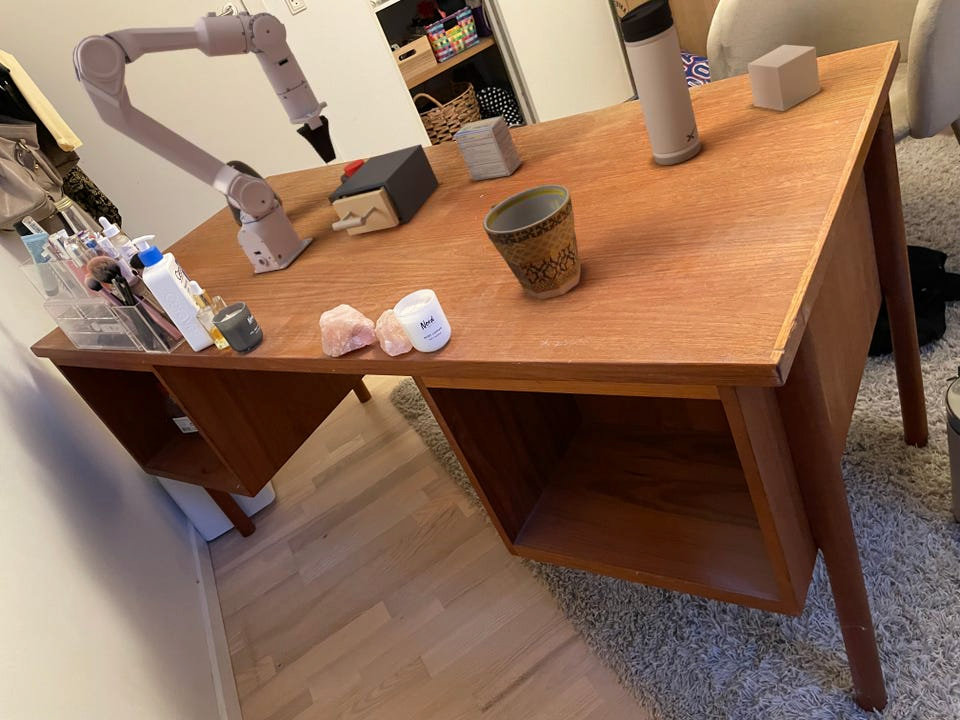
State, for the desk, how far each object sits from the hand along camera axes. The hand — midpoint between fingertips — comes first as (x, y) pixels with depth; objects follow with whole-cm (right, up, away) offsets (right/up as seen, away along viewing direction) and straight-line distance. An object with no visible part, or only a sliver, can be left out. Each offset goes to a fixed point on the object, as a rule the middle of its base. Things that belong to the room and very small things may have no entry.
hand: (330, 160), depth 124 cm
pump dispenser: (-17, -9, +19) cm, 27 cm away
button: (+2, +2, +15) cm, 15 cm away
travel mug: (+55, -8, -30) cm, 63 cm away
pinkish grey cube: (+70, 0, -29) cm, 75 cm away
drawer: (+10, -12, -6) cm, 17 cm away
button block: (+3, 0, +16) cm, 17 cm away
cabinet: (+13, -9, -3) cm, 16 cm away
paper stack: (+30, -5, -8) cm, 31 cm away
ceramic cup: (+35, -27, -43) cm, 61 cm away
